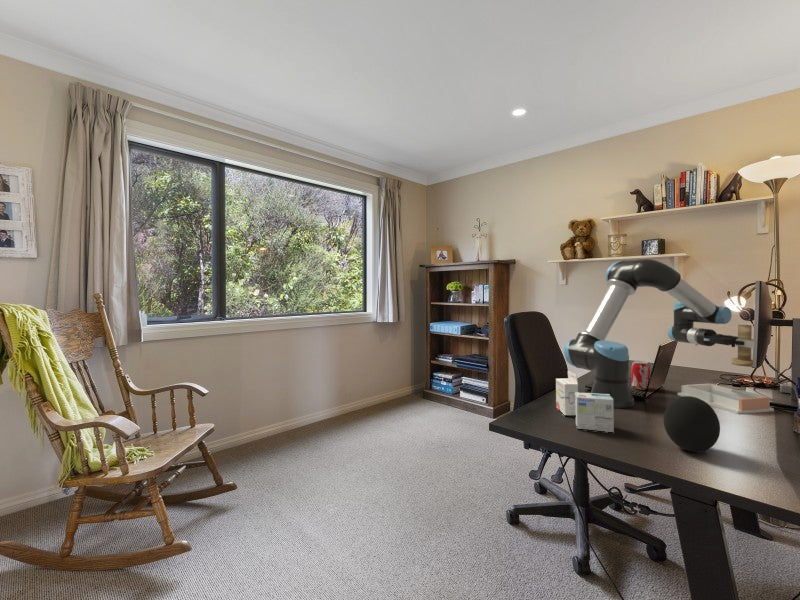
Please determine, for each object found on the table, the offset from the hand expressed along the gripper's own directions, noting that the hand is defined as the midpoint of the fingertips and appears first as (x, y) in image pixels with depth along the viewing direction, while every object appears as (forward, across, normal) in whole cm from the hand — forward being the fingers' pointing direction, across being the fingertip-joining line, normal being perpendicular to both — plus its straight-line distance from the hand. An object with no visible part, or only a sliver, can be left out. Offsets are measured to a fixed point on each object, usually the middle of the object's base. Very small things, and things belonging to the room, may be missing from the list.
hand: (759, 344), depth 146 cm
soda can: (-23, +31, -22) cm, 45 cm away
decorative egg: (+34, +65, -22) cm, 76 cm away
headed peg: (-5, 0, -9) cm, 10 cm away
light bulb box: (+14, +80, -22) cm, 84 cm away
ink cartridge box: (-1, +80, -22) cm, 83 cm away
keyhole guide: (0, +16, -22) cm, 27 cm away
